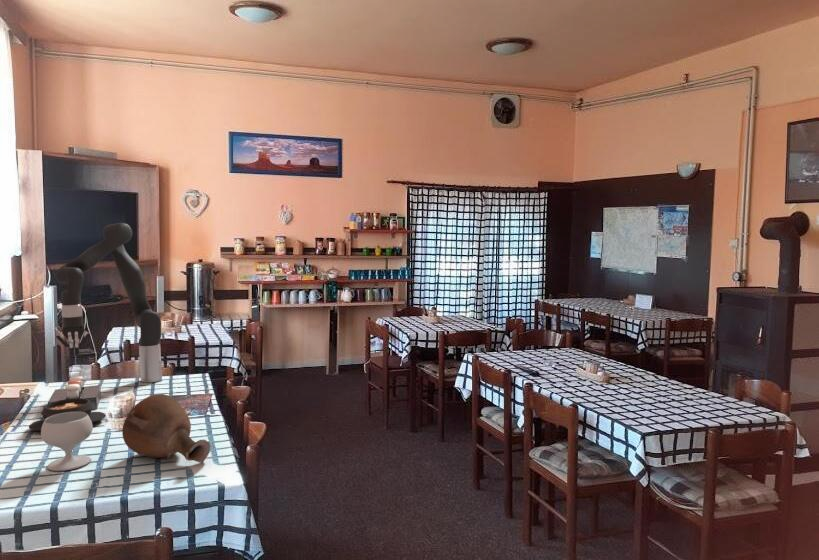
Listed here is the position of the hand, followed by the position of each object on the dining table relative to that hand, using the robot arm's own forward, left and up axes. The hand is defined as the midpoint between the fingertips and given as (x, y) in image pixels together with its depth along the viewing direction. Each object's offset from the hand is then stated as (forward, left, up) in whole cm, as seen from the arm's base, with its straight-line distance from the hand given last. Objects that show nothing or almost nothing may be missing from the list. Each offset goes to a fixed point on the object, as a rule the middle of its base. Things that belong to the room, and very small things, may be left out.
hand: (75, 356), depth 260 cm
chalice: (-6, +77, -19) cm, 80 cm away
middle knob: (0, +7, -15) cm, 17 cm away
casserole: (-1, +35, -19) cm, 40 cm away
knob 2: (0, +14, -15) cm, 21 cm away
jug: (-34, +84, -19) cm, 93 cm away
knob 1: (0, 0, -15) cm, 15 cm away
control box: (0, +7, -19) cm, 20 cm away
